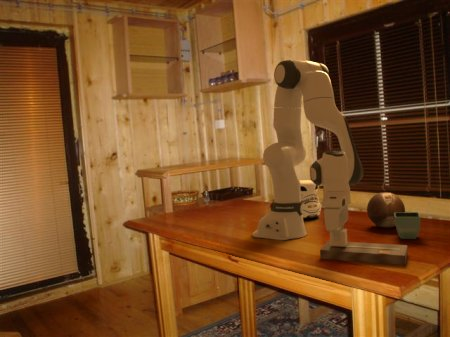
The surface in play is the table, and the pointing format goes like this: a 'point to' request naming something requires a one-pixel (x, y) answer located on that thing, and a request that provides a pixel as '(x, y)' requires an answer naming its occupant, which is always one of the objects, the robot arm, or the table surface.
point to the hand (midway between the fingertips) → (338, 238)
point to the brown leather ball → (384, 209)
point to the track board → (366, 253)
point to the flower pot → (407, 224)
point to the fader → (342, 240)
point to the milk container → (309, 199)
